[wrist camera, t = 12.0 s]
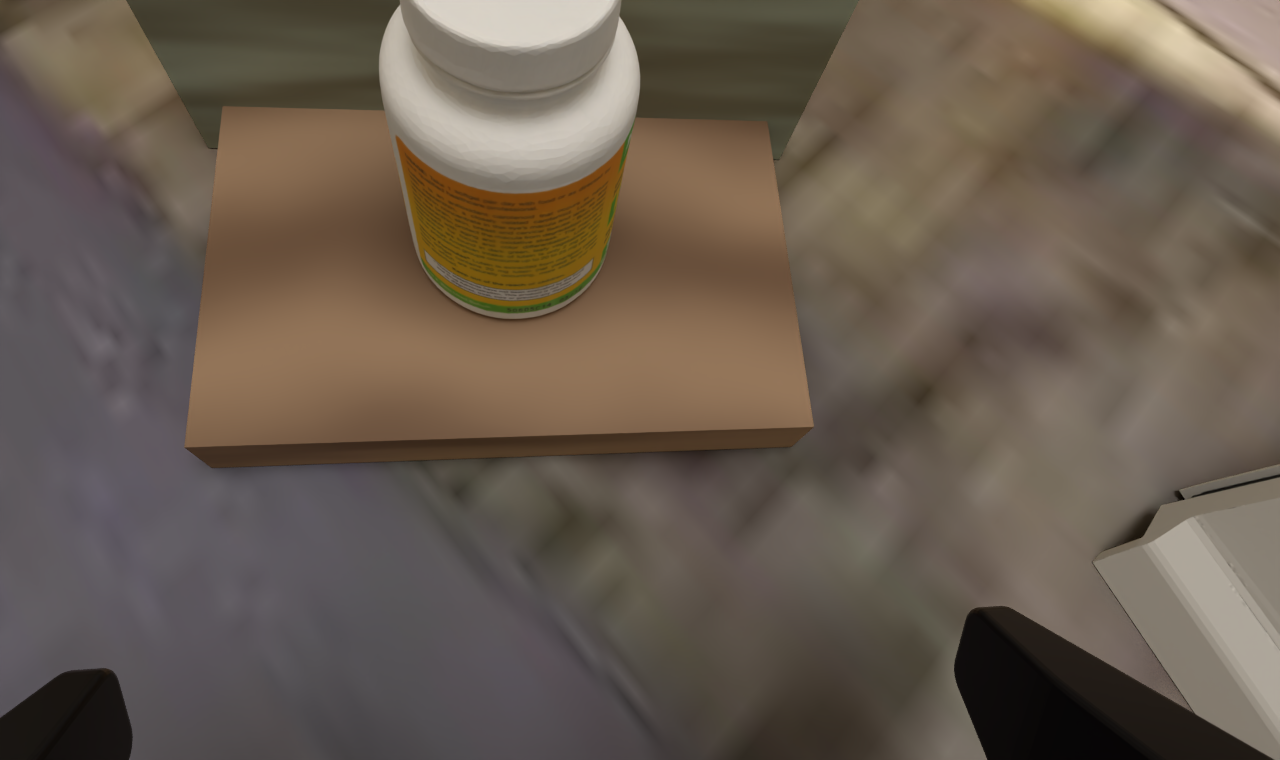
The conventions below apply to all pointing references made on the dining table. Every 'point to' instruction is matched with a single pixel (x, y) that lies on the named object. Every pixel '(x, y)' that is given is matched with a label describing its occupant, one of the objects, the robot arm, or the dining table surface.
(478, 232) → the supplement bottle
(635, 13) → the wall board ledge
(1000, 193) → the dining table surface
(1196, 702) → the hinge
